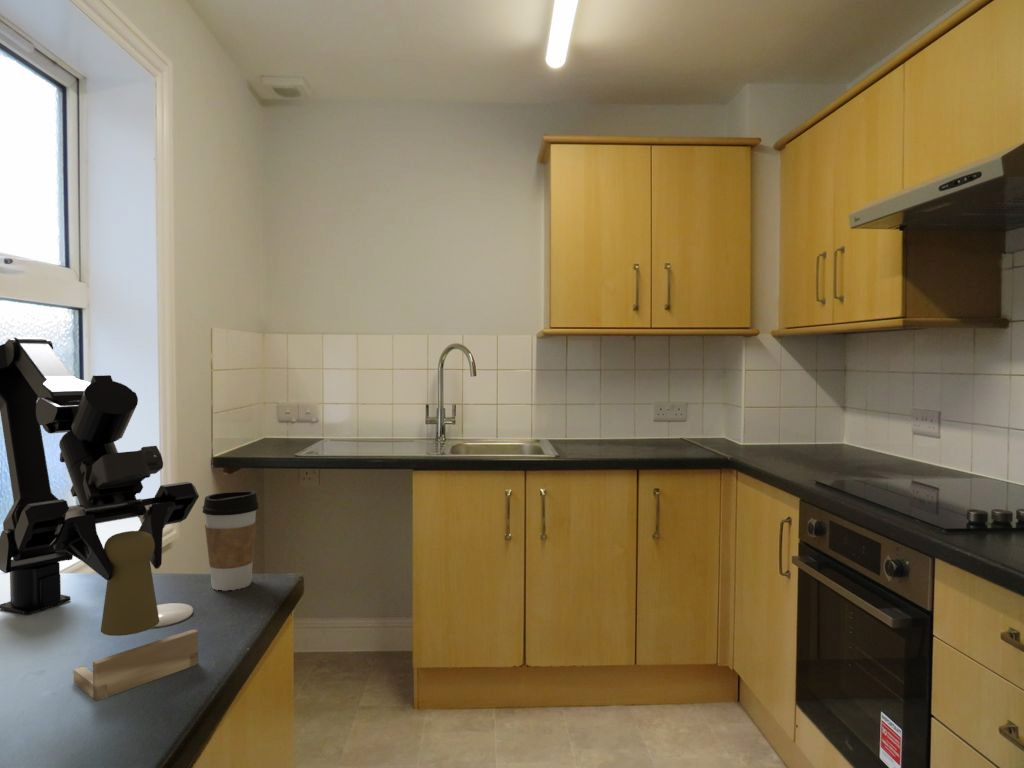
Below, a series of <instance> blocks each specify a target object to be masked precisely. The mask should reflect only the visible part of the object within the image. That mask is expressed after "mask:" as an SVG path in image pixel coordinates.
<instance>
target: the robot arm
mask: <svg viewBox="0 0 1024 768" xmlns="http://www.w3.org/2000/svg"><path fill="white" fill-rule="evenodd" d="M53 345H54V344H53V343H52V340H50V339H46V338H44V337H28V336H27V337H26V336H25V337H23V336H15V337H13V338H8V339H7V341H5V343H3V344H0V419H1V420H0V421H1V426H2V427H1V428H2V434H3V439H4V446H5V453H6V460H7V465H8V473H9V479H10V485H11V487H10V488H11V492H12V498H13V504H12V505H11V507H10V509H9V510H8V513H7V514H6V516H5V519H4V520H3V521H2V527H3V530H2V531H1V533H0V571H1V572H2V573H4V574H8V573H9V581H10V582H9V584H10V585H9V589H10V590H9V592H10V600H9V601H7V602H4V603H1V604H0V610H4V611H9V612H14V613H17V614H18V613H19V614H22V615H23V614H24V615H28V614H32V613H35V612H38V611H42V610H44V609H47V608H48V609H49V608H50V607H54V606H57V605H60V604H62V603H65V602H68V601H70V600H71V596H70V595H66V594H61V593H62V592H61V591H62V590H61V587H62V586H61V583H62V582H61V574H60V571H61V570H60V569H61V568H60V562H65V561H73V557H75V558H76V559H78V560H79V561H81V562H83V563H84V564H85V565H87V566H88V567H89V568H90V569H92V570H93V571H94V572H95V573H96V574H98V575H99V576H101V577H102V578H103V579H105V581H107V580H111V578H112V576H113V573H112V569H111V565H110V562H109V560H108V557H107V555H106V553H105V550H104V546H103V543H102V542H101V539H100V537H99V535H98V532H97V524H102V523H108V522H109V523H110V522H114V521H120V520H126V519H133V518H137V517H138V519H139V521H140V523H141V526H140V527H139V529H138V530H137V531H144V532H147V533H150V534H151V535H152V537H153V539H154V542H155V549H154V553H153V555H152V556H151V557H150V564H151V566H153V567H154V569H155V570H157V569H160V567H161V566H162V560H163V556H162V555H163V531H164V528H165V527H166V525H172V524H176V523H177V524H178V523H182V522H183V521H185V520H186V519H187V517H189V515H190V513H191V511H192V509H193V507H194V506H195V504H196V502H197V500H198V499H199V497H200V494H199V493H198V491H197V488H196V486H195V485H194V484H193V483H192V482H189V481H182V482H174V483H168V484H163V485H162V484H161V485H160V486H159V488H158V490H157V491H156V493H155V495H154V496H153V497H149V498H144V499H142V498H139V499H138V498H137V497H136V495H137V494H140V493H141V492H142V491H143V488H144V486H143V483H142V481H144V480H145V479H147V478H150V477H151V475H155V474H157V473H158V472H160V471H161V470H162V469H163V468H164V461H163V457H162V453H161V452H160V450H159V448H158V445H150V446H149V445H148V446H142V447H141V448H140V449H138V450H134V451H133V450H132V451H122V452H119V451H118V449H117V447H116V444H115V442H116V441H119V440H120V439H122V438H123V437H124V434H125V433H126V430H127V427H128V426H129V423H130V421H131V419H132V416H133V415H134V412H135V410H136V408H137V405H138V403H139V402H138V401H139V397H138V395H137V393H136V391H133V390H132V389H131V388H129V387H128V386H127V385H125V384H123V383H121V382H118V381H115V380H113V378H112V376H111V375H110V374H109V375H107V374H106V375H105V374H101V375H100V374H99V375H95V374H93V375H92V378H91V379H90V381H86V380H84V379H79V378H76V377H75V375H74V374H73V373H72V372H71V371H70V369H69V368H68V367H67V365H66V364H65V362H63V360H62V359H61V358H60V357H59V355H58V354H57V353H56V352H55V350H54V346H53ZM41 426H42V429H43V430H44V431H45V432H46V433H48V434H60V433H63V434H64V435H62V437H61V439H60V440H59V444H58V446H59V450H60V453H59V461H60V463H64V464H65V467H66V469H67V472H68V474H69V477H70V481H71V484H72V486H71V488H70V493H71V497H72V498H73V497H74V498H75V497H76V498H77V499H78V503H79V504H77V505H70V506H69V504H68V502H67V500H65V499H63V498H62V499H59V498H58V497H57V496H56V495H54V493H52V489H51V483H50V475H49V473H48V464H47V458H46V453H45V447H44V440H43V434H42V429H41Z"/></svg>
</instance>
